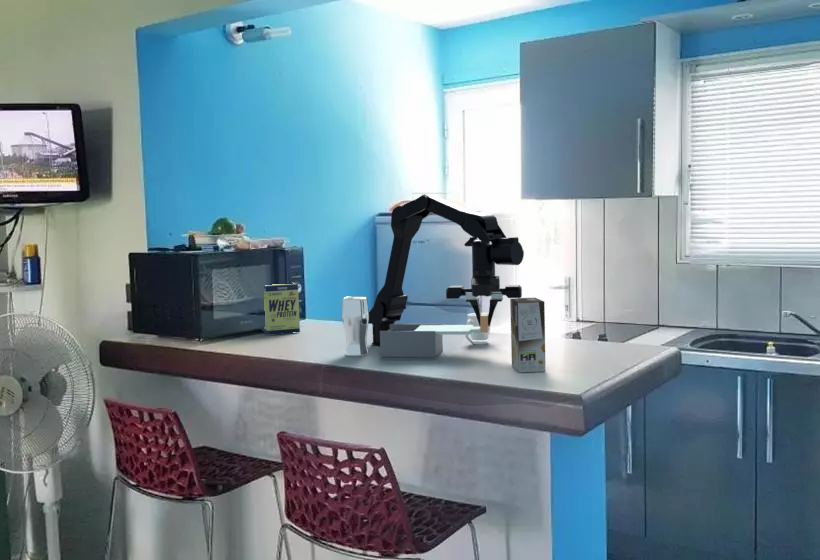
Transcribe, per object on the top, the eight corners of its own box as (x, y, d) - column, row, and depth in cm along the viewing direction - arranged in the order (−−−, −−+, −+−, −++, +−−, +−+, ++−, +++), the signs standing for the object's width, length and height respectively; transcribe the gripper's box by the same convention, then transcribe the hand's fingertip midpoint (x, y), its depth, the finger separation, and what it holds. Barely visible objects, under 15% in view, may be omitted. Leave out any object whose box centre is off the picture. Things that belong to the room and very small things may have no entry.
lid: (413, 334, 200) (413, 318, 200) (420, 328, 211) (420, 312, 211) (486, 334, 197) (486, 317, 197) (490, 327, 208) (489, 311, 208)
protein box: (267, 335, 249) (265, 285, 247) (258, 329, 263) (256, 282, 262) (300, 333, 252) (298, 283, 251) (289, 327, 267) (287, 280, 266)
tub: (380, 359, 201) (379, 331, 201) (390, 350, 214) (390, 324, 214) (435, 359, 199) (435, 331, 198) (442, 350, 212) (442, 323, 211)
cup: (497, 342, 223) (497, 313, 222) (476, 347, 216) (476, 317, 215) (477, 340, 228) (476, 312, 227) (455, 345, 220) (455, 316, 219)
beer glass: (374, 352, 212) (372, 296, 211) (364, 357, 206) (362, 299, 205) (349, 351, 215) (347, 296, 213) (339, 356, 208) (337, 299, 207)
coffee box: (546, 371, 180) (545, 301, 179) (518, 373, 180) (517, 302, 178) (536, 364, 189) (535, 296, 188) (510, 365, 189) (508, 298, 188)
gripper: (442, 267, 195) (444, 330, 196) (519, 266, 192) (520, 330, 193) (448, 264, 206) (449, 324, 207) (521, 262, 203) (522, 324, 204)
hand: (484, 325), depth 203 cm, fingers closed on lid, 2 cm apart
